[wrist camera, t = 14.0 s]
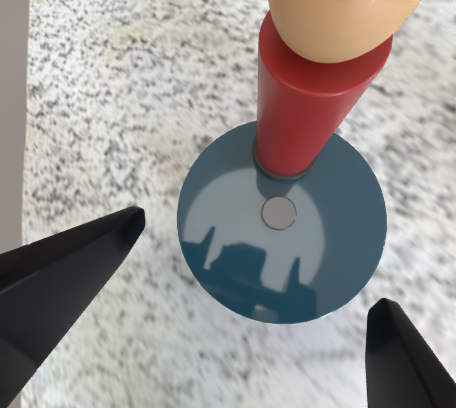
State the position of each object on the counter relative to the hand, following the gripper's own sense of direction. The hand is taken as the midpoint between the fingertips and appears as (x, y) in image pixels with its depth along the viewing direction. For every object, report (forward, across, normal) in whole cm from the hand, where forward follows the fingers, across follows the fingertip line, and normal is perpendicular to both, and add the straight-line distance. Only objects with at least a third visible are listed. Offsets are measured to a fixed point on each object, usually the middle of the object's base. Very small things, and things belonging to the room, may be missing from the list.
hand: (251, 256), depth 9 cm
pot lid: (+8, -1, +4) cm, 9 cm away
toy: (+11, 0, 0) cm, 11 cm away
